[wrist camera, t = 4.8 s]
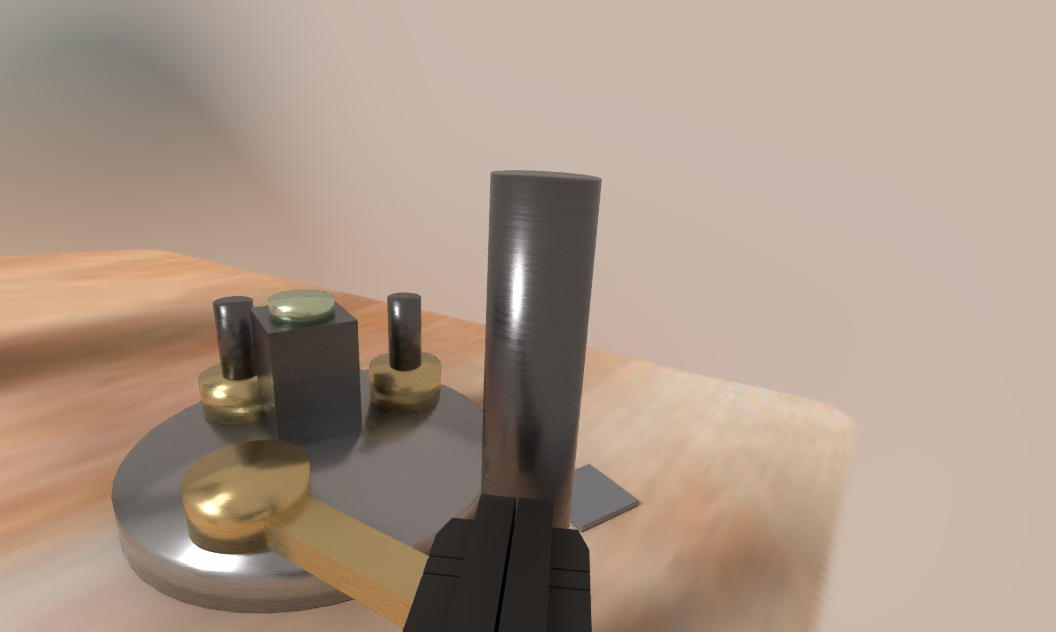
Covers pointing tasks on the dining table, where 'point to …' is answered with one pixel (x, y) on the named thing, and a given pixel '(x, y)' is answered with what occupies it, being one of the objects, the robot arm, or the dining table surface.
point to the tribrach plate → (304, 446)
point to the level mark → (596, 498)
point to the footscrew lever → (508, 408)
